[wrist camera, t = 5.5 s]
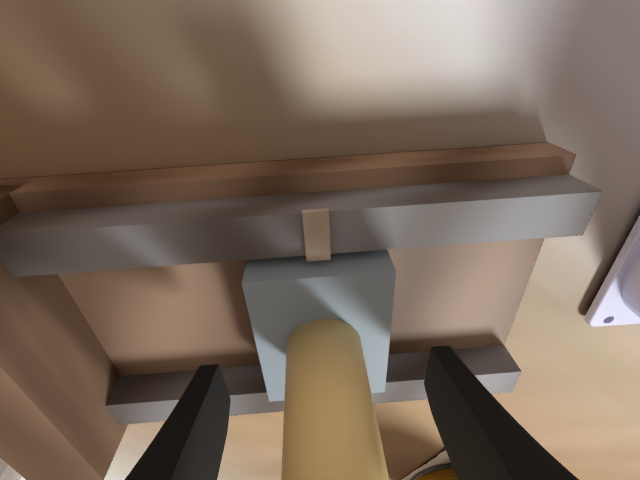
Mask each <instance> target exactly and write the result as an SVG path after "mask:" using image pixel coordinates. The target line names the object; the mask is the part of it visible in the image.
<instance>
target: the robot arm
mask: <svg viewBox="0 0 640 480" xmlns="http://www.w3.org/2000/svg"><path fill="white" fill-rule="evenodd" d="M585 321H586V322H587V323H588V324H589V325H590V326H594V327H597V326H610V325H623V324H635V323H640V215H639V217H638V219H637V221H636V223H635V225H634V226H633V228H632V230H631V232H630V234H629V236H628V237H627V239H626V241H625V243H624V245H623V247H622V249H621V250H620V252H619V254H618V256H617V258H616V260H615V262H614V263H613V265H612V267H611V269H610V271H609V273H608V275H607V276H606V278H605V280H604V282H603V284H602V286H601V288H600V289H599V291H598V293H597V295H596V297H595V299H594V301H593V302H592V304H591V306H590V308H589V310H588V312H587V314H586V315H585ZM424 386H425V390H426V394H427V398H428V401H429V405H430V408H431V412H432V415H433V418H434V421H435V423H436V426H437V428H438V431H439V434H440V436H441V439H442V441H443V444H444V446H445V449H446V452H447V454H448V457H449V459H450V462H451V464H452V467H453V469H454V472H455V475H456V477H457V480H579V479H577V478H576V477H575V476H574V475H573V474H572V473H571V472H569V471H568V470H567V469H566V468H565V467H564V466H563V465H562V464H561V463H559V462H558V461H557V460H556V459H555V458H554V457H553V456H552V455H551V454H550V453H549V452H547V451H546V450H545V449H544V448H543V447H542V446H541V445H540V444H539V443H538V442H537V441H536V440H535V439H534V438H533V437H532V436H531V435H530V434H529V433H528V432H527V431H526V430H525V429H524V428H523V427H522V426H521V425H520V424H519V423H518V422H517V421H516V420H515V419H514V418H513V417H512V416H511V415H510V414H509V413H508V412H507V411H506V410H505V409H504V407H503V406H502V405H501V404H500V403H499V402H498V401H497V400H496V399H495V398H494V397H493V396H492V395H491V393H490V392H489V391H488V390H487V389H486V388H485V387H484V386H483V384H482V383H481V382H480V381H479V380H478V379H477V378H476V376H475V375H474V374H473V373H472V372H471V371H470V369H469V368H468V367H467V366H466V365H465V363H464V362H463V361H462V360H461V359H460V357H459V356H458V355H457V354H456V353H455V351H454V350H453V349H452V348H451V347H450V346H436V347H431V350H430V355H429V360H428V365H427V370H426V375H425V380H424ZM230 402H231V399H230V396H229V393H228V390H227V387H226V384H225V381H224V378H223V375H222V372H221V369H220V366H219V364H211V365H200V366H199V367H198V369H197V370H196V372H195V374H194V376H193V377H192V379H191V381H190V383H189V384H188V386H187V388H186V389H185V391H184V393H183V394H182V396H181V398H180V399H179V401H178V402H177V404H176V406H175V407H174V409H173V411H172V412H171V414H170V415H169V417H168V418H167V420H166V421H165V423H164V424H163V426H162V427H161V429H160V431H159V432H158V434H157V435H156V437H155V438H154V440H153V441H152V442H151V444H150V445H149V447H148V448H147V450H146V451H145V452H144V454H143V455H142V457H141V458H140V459H139V461H138V462H137V464H136V465H135V467H134V468H133V469H132V471H131V472H130V473H129V475H128V476H127V477H126V479H125V480H217V477H218V473H219V468H220V463H221V459H222V454H223V450H224V445H225V440H226V435H227V429H228V421H229V412H230Z"/></svg>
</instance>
